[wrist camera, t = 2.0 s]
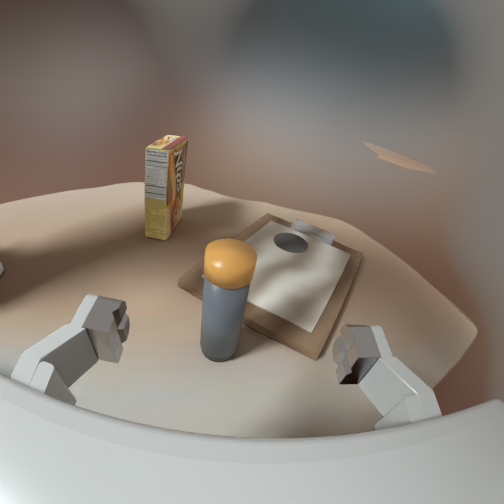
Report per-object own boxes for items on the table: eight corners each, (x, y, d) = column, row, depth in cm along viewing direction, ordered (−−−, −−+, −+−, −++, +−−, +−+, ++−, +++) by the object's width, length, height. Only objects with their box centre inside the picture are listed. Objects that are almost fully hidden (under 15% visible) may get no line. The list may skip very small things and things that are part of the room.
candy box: (162, 213, 53) (165, 134, 44) (183, 216, 53) (189, 136, 44) (144, 237, 46) (143, 146, 37) (168, 241, 46) (171, 149, 37)
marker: (191, 350, 30) (194, 253, 22) (213, 328, 33) (224, 233, 26) (223, 370, 28) (239, 276, 21) (244, 346, 31) (266, 252, 24)
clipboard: (178, 286, 38) (177, 272, 36) (266, 218, 57) (268, 208, 56) (315, 360, 31) (322, 348, 30) (360, 259, 51) (365, 248, 49)
